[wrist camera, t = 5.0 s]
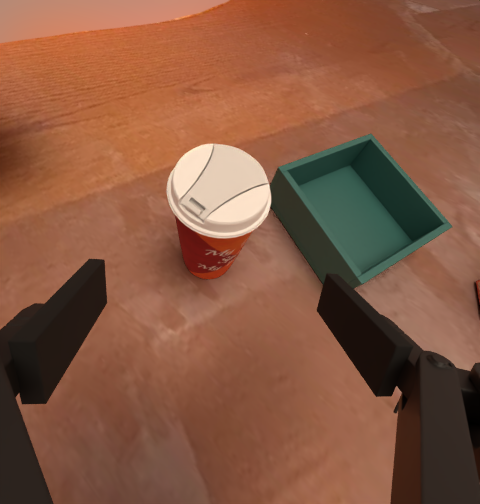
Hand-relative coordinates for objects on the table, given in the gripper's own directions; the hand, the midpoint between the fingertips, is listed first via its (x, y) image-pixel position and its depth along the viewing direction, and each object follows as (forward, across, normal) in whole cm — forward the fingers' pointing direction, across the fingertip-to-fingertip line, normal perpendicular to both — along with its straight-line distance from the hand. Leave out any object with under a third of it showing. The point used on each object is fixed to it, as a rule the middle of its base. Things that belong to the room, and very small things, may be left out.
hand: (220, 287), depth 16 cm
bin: (+19, +18, 0) cm, 26 cm away
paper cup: (+15, 0, -4) cm, 16 cm away
